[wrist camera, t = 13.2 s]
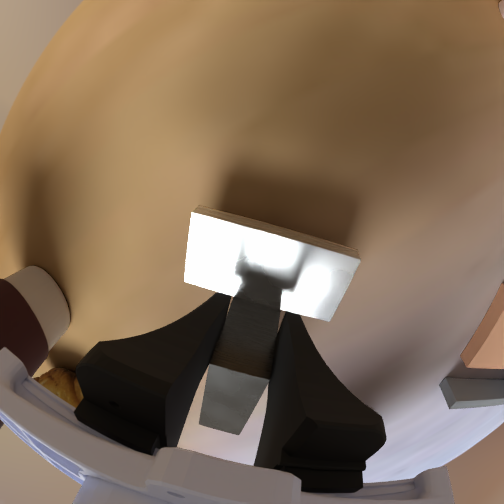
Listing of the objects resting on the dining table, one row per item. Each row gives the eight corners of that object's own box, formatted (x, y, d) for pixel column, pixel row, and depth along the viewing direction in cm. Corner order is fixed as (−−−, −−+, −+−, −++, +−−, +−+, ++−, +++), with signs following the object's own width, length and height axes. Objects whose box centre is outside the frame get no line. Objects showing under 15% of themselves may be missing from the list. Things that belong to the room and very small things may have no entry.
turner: (290, 377, 18) (282, 443, 14) (184, 347, 19) (156, 408, 14) (357, 249, 13) (381, 329, 8) (199, 204, 13) (142, 263, 8)
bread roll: (99, 361, 22) (57, 416, 15) (145, 421, 25) (119, 473, 18) (41, 356, 25) (7, 393, 18) (80, 407, 28) (54, 445, 21)
